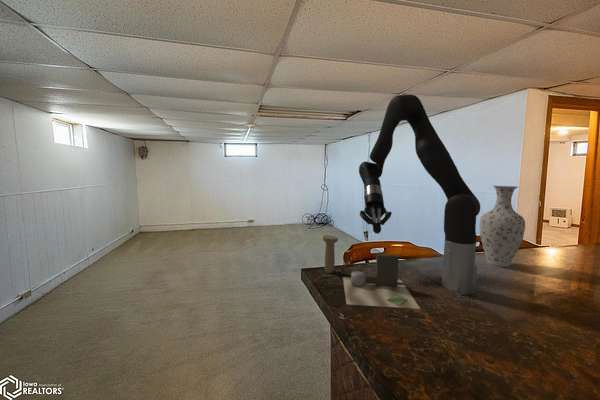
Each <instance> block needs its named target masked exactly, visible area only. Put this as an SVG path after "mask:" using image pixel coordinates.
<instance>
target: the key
mask: <svg viewBox="0 0 600 400" xmlns="http://www.w3.org/2000/svg"><path fill="white" fill-rule="evenodd" d="M399 257H400V256H399V255H398V254H376V261H375V263H376V264H375V275H374V274H372V275H371V274H366V272H363V271H358V270H356V271H352V272H350V277H351V284H352V285H354V286H365V285H366V283H367V284H376V285H379V286H397V285H405V286H410V283H409V282H403V281H402V282H397V280H399V279H398V278H399V277H398V276H399Z"/></svg>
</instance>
